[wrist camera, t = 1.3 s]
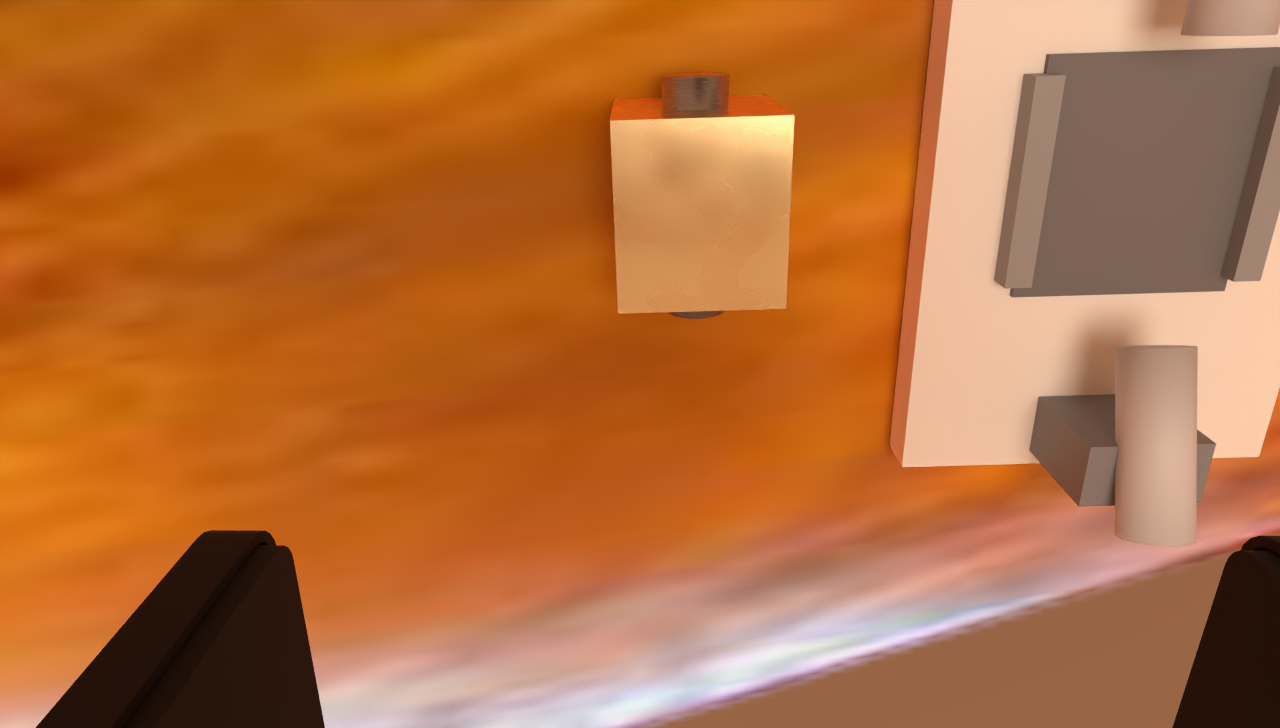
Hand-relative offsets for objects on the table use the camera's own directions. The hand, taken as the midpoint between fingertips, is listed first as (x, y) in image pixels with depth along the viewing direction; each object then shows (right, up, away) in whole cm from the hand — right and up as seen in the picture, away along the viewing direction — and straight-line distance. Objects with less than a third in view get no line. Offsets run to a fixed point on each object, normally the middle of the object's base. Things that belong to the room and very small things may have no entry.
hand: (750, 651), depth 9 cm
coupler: (0, +9, +18) cm, 20 cm away
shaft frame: (+13, +9, +17) cm, 24 cm away
